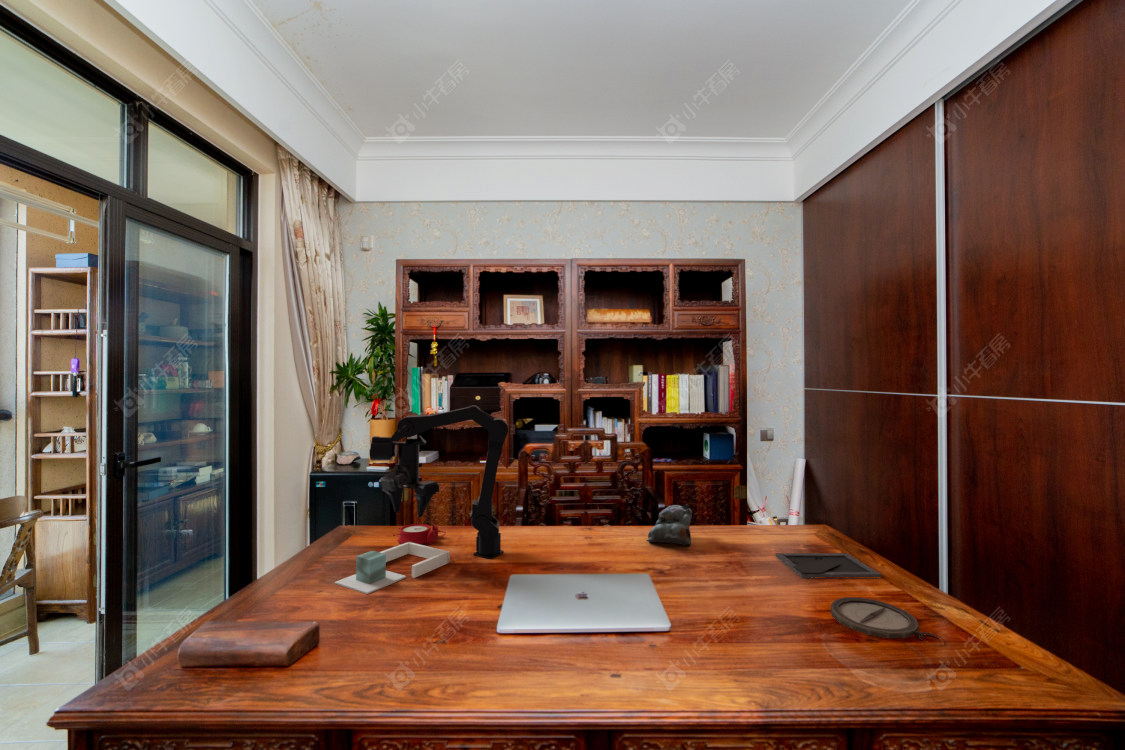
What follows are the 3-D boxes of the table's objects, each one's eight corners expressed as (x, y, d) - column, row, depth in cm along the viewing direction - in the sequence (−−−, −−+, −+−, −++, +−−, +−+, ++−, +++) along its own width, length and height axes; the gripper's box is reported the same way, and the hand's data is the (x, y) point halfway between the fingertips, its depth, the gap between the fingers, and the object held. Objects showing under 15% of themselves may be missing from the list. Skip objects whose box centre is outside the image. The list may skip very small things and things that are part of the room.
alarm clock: (398, 524, 170) (444, 513, 171) (402, 543, 170) (448, 532, 171) (390, 534, 159) (439, 522, 160) (395, 554, 159) (444, 542, 160)
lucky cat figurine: (638, 541, 165) (645, 498, 172) (667, 551, 170) (673, 509, 176) (670, 540, 153) (676, 493, 159) (700, 551, 158) (705, 505, 164)
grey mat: (405, 577, 135) (405, 576, 135) (367, 594, 124) (367, 592, 124) (374, 568, 141) (374, 566, 141) (334, 583, 131) (334, 582, 131)
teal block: (385, 577, 134) (385, 554, 134) (369, 584, 129) (369, 560, 129) (372, 573, 136) (372, 550, 136) (356, 580, 132) (356, 556, 132)
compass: (813, 606, 121) (813, 597, 121) (878, 602, 123) (878, 594, 123) (875, 652, 101) (875, 642, 101) (952, 648, 103) (952, 637, 103)
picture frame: (801, 580, 137) (881, 580, 137) (801, 572, 137) (881, 572, 137) (775, 558, 153) (847, 558, 153) (775, 551, 153) (847, 551, 153)
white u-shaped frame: (449, 562, 146) (449, 551, 146) (414, 577, 135) (414, 566, 135) (408, 552, 154) (408, 541, 154) (372, 565, 143) (372, 554, 143)
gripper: (363, 461, 148) (362, 516, 148) (410, 467, 138) (410, 527, 138) (394, 456, 157) (393, 508, 157) (440, 461, 148) (440, 517, 148)
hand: (408, 514), depth 150 cm, fingers open, 9 cm apart
